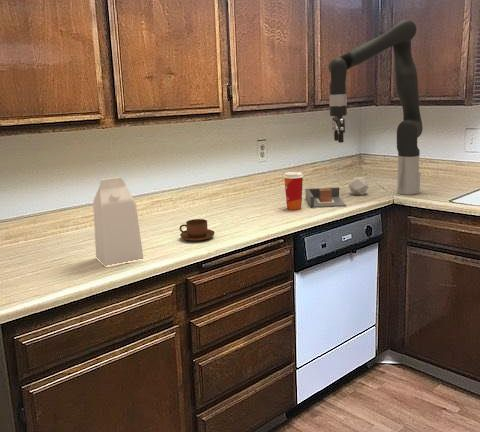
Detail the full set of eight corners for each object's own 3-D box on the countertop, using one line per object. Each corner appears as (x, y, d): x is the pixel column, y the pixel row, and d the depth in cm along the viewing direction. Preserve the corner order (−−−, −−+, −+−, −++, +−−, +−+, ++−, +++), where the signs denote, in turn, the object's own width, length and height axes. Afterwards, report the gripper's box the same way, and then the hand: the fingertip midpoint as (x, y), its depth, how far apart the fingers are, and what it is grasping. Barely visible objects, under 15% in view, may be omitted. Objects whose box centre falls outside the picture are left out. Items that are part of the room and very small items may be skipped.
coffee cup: (289, 205, 234) (288, 171, 230) (307, 207, 229) (306, 172, 226) (280, 209, 227) (279, 174, 223) (298, 211, 222) (298, 175, 219)
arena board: (338, 197, 245) (338, 187, 244) (346, 206, 228) (346, 195, 227) (305, 198, 245) (305, 188, 244) (310, 207, 228) (310, 197, 227)
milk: (132, 251, 179) (125, 173, 173) (143, 260, 169) (136, 178, 163) (96, 258, 174) (87, 178, 167) (105, 268, 164) (96, 183, 157)
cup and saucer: (184, 245, 184) (182, 227, 182) (177, 236, 195) (176, 219, 193) (218, 241, 187) (217, 223, 185) (210, 232, 198) (209, 216, 197)
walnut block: (318, 199, 239) (318, 188, 238) (330, 199, 239) (330, 187, 238) (320, 202, 234) (320, 190, 233) (331, 201, 234) (331, 190, 233)
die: (357, 198, 244) (370, 181, 243) (342, 187, 248) (355, 170, 246) (361, 201, 252) (374, 184, 250) (346, 190, 255) (359, 174, 254)
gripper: (326, 105, 247) (327, 140, 251) (333, 105, 234) (333, 143, 237) (342, 103, 248) (343, 139, 251) (350, 104, 234) (350, 142, 237)
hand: (338, 141), depth 244 cm, fingers open, 8 cm apart
